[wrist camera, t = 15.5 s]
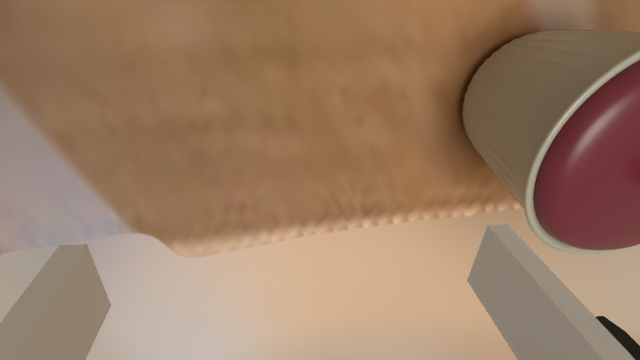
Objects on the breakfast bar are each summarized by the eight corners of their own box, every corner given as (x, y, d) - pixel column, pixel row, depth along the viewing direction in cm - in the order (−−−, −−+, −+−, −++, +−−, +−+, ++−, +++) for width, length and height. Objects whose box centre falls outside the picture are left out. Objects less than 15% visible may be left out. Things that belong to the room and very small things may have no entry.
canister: (458, -2, 33) (681, 29, 15) (622, 8, 36) (981, 46, 18) (419, 164, 42) (529, 306, 24) (552, 163, 45) (740, 291, 27)
